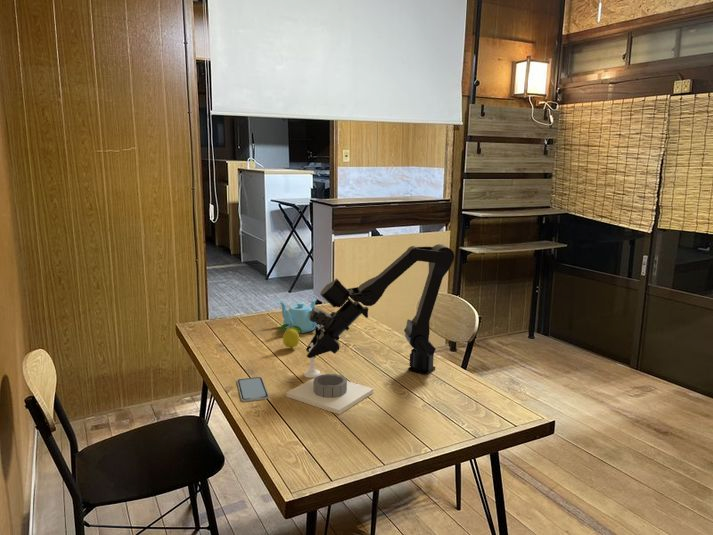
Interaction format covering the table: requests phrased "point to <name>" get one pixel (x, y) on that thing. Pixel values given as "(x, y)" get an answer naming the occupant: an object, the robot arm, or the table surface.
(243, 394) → the smartphone
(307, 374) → the chess piece
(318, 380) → the collar board
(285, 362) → the table surface
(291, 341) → the lemon
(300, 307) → the teapot
